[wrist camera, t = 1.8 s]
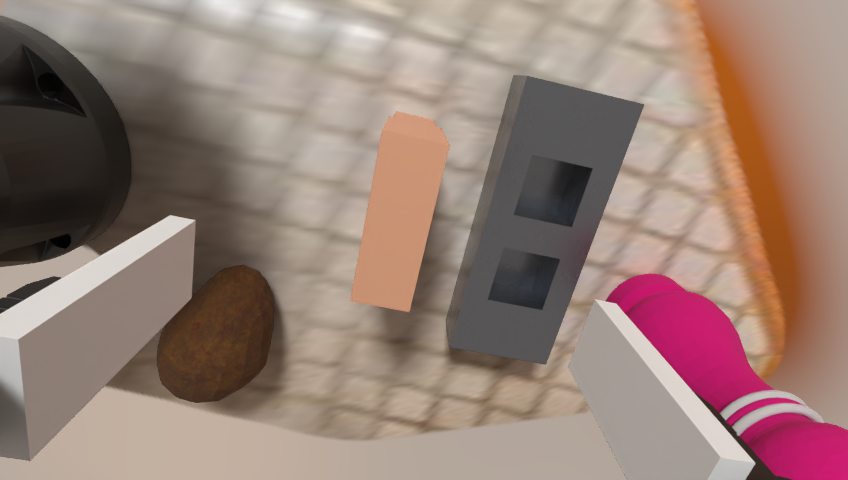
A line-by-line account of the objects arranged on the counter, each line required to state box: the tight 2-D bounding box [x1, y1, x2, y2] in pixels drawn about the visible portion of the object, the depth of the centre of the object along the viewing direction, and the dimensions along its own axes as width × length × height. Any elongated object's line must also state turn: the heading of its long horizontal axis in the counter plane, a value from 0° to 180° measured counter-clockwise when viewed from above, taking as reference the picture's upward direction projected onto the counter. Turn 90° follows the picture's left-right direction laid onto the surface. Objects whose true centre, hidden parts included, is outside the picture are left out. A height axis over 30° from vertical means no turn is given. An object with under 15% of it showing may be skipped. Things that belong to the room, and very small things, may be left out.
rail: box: [446, 75, 644, 364], centre depth 30 cm, size 7×18×4 cm, turn 167°
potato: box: [157, 265, 274, 403], centre depth 31 cm, size 7×10×7 cm
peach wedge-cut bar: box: [350, 112, 450, 312], centre depth 26 cm, size 3×8×10 cm, turn 167°
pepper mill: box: [606, 274, 848, 480], centre depth 25 cm, size 7×7×20 cm
